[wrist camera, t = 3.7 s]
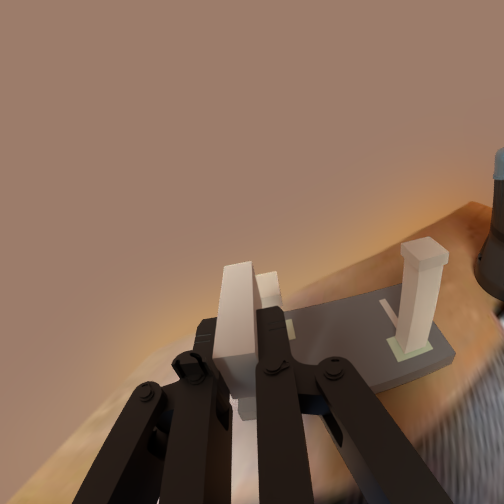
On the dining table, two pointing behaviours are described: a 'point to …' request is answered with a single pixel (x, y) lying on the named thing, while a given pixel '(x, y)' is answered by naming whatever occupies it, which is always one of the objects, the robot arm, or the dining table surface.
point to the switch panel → (360, 341)
